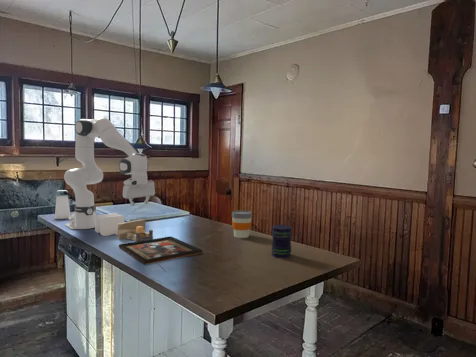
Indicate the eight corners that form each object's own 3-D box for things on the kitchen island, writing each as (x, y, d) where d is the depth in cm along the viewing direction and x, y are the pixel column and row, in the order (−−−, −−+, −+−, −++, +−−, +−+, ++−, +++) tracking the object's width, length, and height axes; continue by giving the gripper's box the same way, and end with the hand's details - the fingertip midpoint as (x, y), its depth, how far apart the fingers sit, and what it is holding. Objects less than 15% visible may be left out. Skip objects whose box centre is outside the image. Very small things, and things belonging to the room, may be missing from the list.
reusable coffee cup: (255, 236, 220) (256, 212, 219) (242, 240, 211) (242, 214, 210) (240, 232, 229) (241, 209, 227) (227, 236, 219) (227, 211, 218)
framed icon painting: (208, 252, 187) (208, 246, 187) (148, 268, 162) (148, 262, 162) (167, 238, 214) (167, 234, 214) (111, 250, 189) (111, 245, 189)
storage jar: (286, 259, 176) (286, 229, 174) (268, 256, 181) (268, 227, 179) (294, 254, 184) (295, 226, 183) (276, 251, 189) (277, 223, 188)
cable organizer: (99, 237, 212) (98, 217, 211) (94, 233, 221) (94, 214, 219) (124, 233, 220) (124, 215, 219) (119, 230, 229) (119, 212, 228)
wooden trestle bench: (118, 239, 208) (117, 223, 207) (143, 233, 222) (143, 219, 221) (132, 243, 200) (131, 227, 199) (157, 237, 214) (157, 222, 213)
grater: (55, 216, 269) (54, 189, 267) (70, 215, 273) (69, 189, 272) (54, 219, 259) (53, 191, 258) (70, 218, 264) (69, 191, 262)
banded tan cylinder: (134, 238, 210) (134, 226, 209) (140, 237, 213) (140, 225, 212) (139, 240, 207) (139, 228, 206) (145, 238, 210) (145, 226, 210)
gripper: (150, 179, 217) (150, 202, 218) (121, 181, 201) (121, 206, 202) (157, 180, 213) (157, 203, 214) (127, 182, 197) (127, 207, 198)
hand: (139, 204), depth 208 cm, fingers open, 8 cm apart
